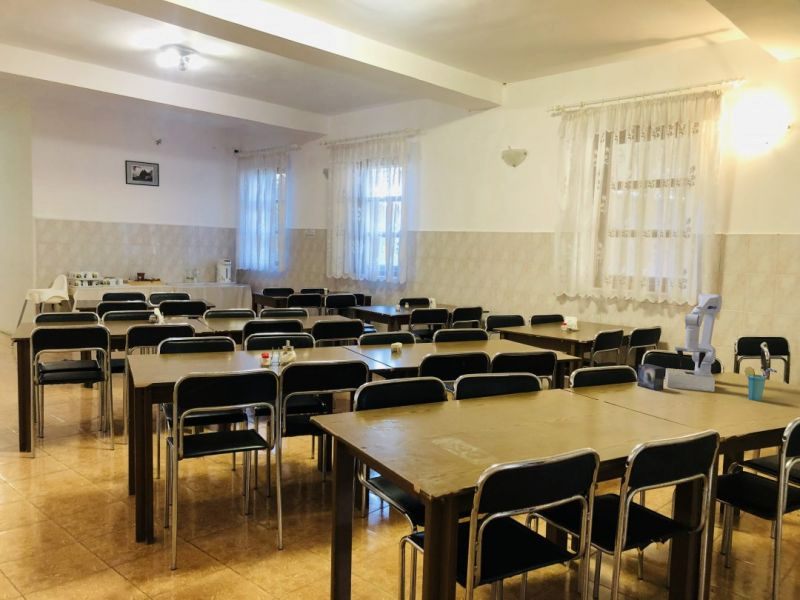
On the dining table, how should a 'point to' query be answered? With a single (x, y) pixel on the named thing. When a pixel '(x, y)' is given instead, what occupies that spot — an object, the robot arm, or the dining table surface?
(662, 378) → the small box
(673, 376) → the cash box
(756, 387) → the cup
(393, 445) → the dining table surface
